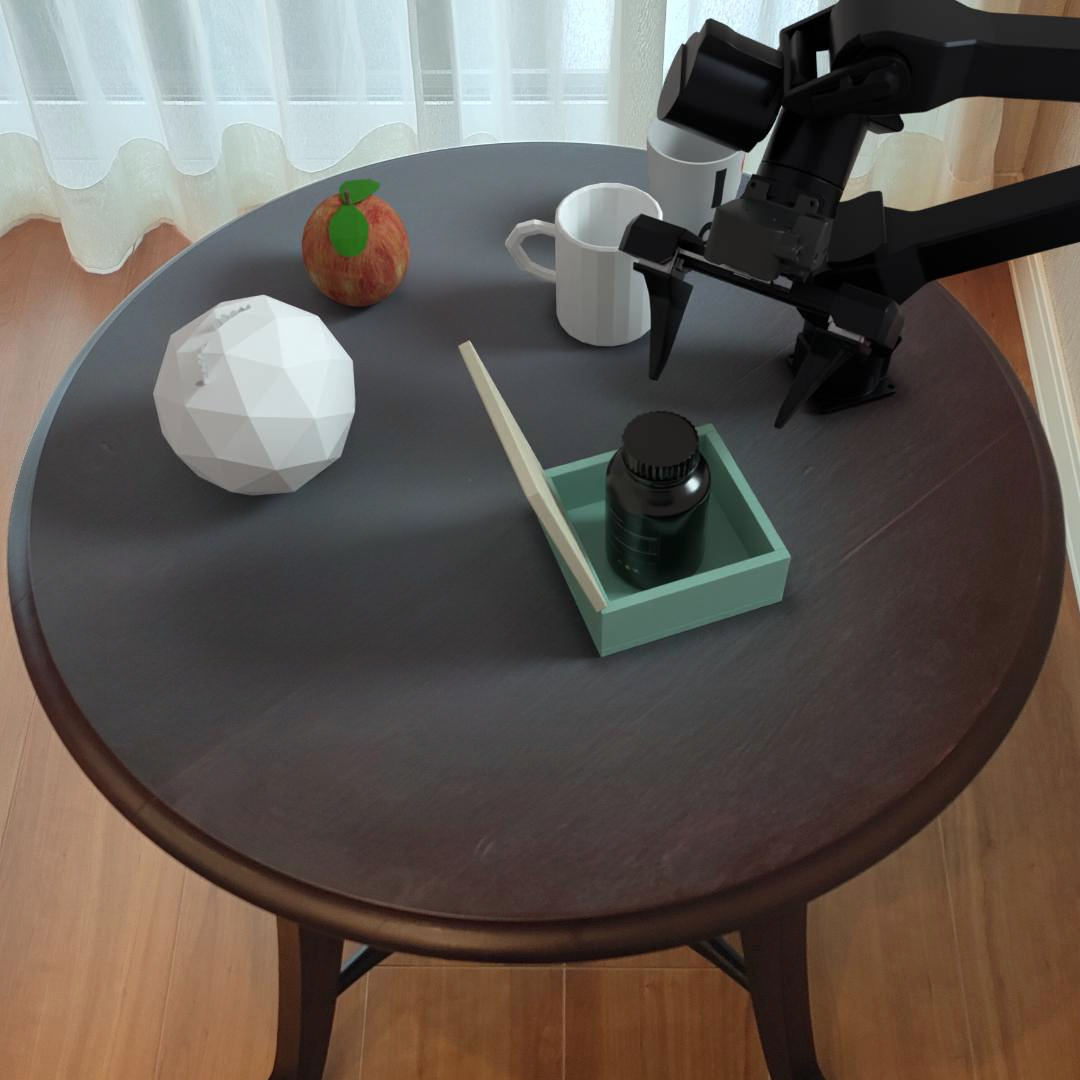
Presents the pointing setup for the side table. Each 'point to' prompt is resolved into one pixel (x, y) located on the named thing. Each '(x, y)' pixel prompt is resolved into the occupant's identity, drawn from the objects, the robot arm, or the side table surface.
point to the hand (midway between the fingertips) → (714, 403)
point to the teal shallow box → (708, 596)
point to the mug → (593, 263)
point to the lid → (531, 476)
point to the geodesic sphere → (256, 396)
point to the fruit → (356, 245)
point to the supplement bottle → (657, 501)
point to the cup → (690, 176)
